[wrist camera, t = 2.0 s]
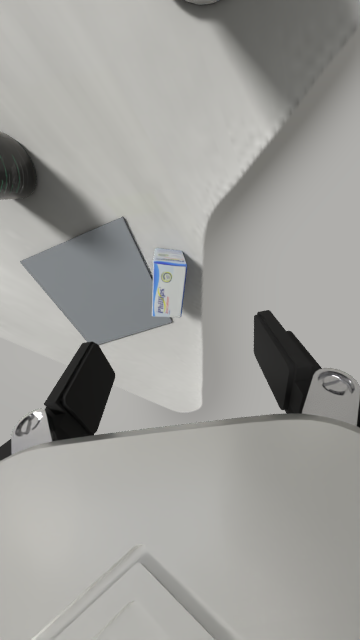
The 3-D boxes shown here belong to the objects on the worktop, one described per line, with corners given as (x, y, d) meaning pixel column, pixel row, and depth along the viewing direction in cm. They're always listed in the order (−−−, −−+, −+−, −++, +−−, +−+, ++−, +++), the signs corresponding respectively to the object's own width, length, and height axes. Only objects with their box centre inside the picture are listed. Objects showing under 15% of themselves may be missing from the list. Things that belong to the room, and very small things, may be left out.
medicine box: (177, 293, 35) (182, 319, 28) (153, 292, 34) (151, 317, 27) (182, 249, 31) (188, 265, 24) (154, 247, 30) (152, 262, 23)
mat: (122, 216, 28) (122, 217, 28) (171, 320, 39) (171, 322, 38) (21, 260, 31) (19, 261, 31) (92, 345, 42) (91, 346, 42)
